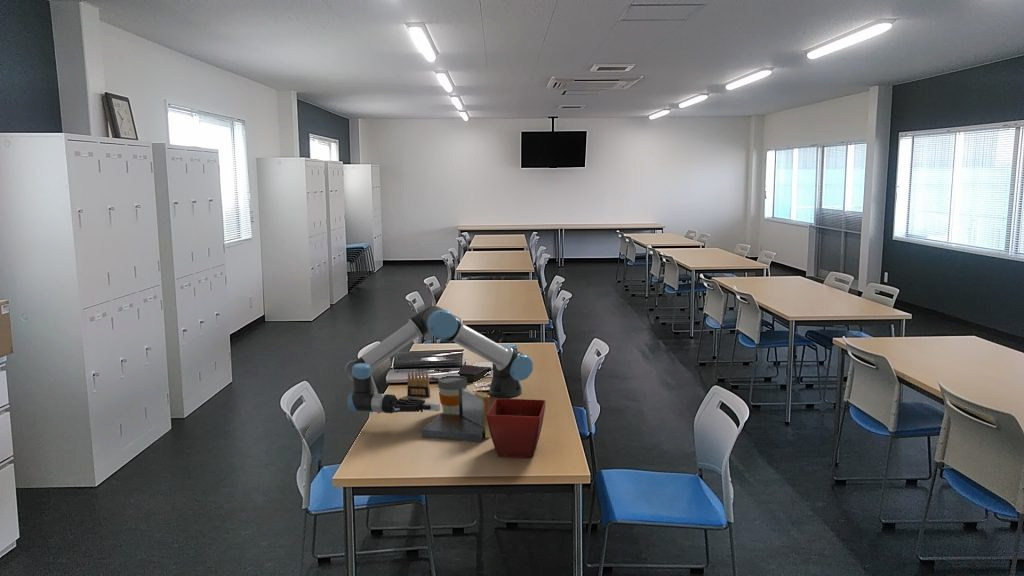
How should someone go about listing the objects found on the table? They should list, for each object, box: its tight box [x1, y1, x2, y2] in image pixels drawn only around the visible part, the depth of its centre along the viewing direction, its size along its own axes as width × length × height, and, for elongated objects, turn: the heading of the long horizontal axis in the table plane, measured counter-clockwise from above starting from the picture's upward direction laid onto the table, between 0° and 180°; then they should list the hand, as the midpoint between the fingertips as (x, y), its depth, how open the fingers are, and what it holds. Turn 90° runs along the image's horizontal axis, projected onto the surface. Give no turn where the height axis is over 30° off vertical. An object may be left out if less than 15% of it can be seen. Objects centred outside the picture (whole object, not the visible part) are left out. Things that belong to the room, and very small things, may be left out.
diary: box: [433, 364, 492, 384], centre depth 356 cm, size 19×25×5 cm
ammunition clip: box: [406, 371, 431, 399], centre depth 323 cm, size 11×2×12 cm, turn 77°
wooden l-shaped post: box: [474, 391, 492, 440], centre depth 270 cm, size 3×7×16 cm, turn 30°
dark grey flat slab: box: [421, 413, 485, 443], centre depth 277 cm, size 20×24×3 cm
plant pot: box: [487, 397, 546, 459], centre depth 253 cm, size 19×19×17 cm
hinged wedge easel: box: [459, 388, 482, 426], centre depth 278 cm, size 20×3×11 cm, turn 33°
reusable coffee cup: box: [437, 376, 468, 415], centre depth 298 cm, size 12×13×15 cm
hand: (439, 407), depth 276 cm, fingers closed
